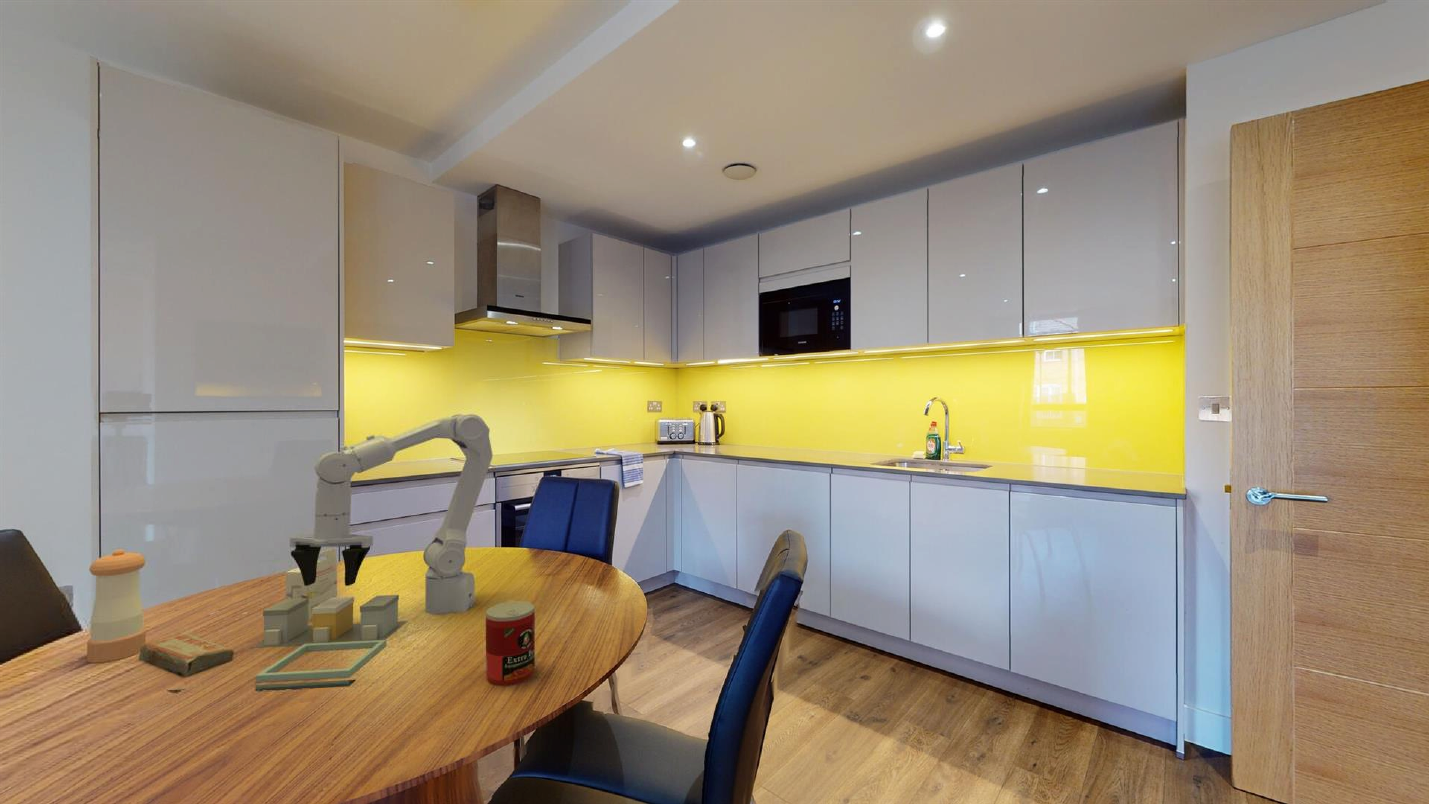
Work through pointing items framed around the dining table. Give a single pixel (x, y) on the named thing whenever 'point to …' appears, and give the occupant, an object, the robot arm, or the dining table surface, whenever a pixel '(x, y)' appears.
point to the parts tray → (273, 675)
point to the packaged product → (184, 654)
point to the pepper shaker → (116, 608)
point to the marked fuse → (334, 615)
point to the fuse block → (324, 636)
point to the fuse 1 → (287, 618)
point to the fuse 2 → (380, 613)
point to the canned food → (510, 642)
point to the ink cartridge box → (323, 584)
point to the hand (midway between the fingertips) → (329, 584)
